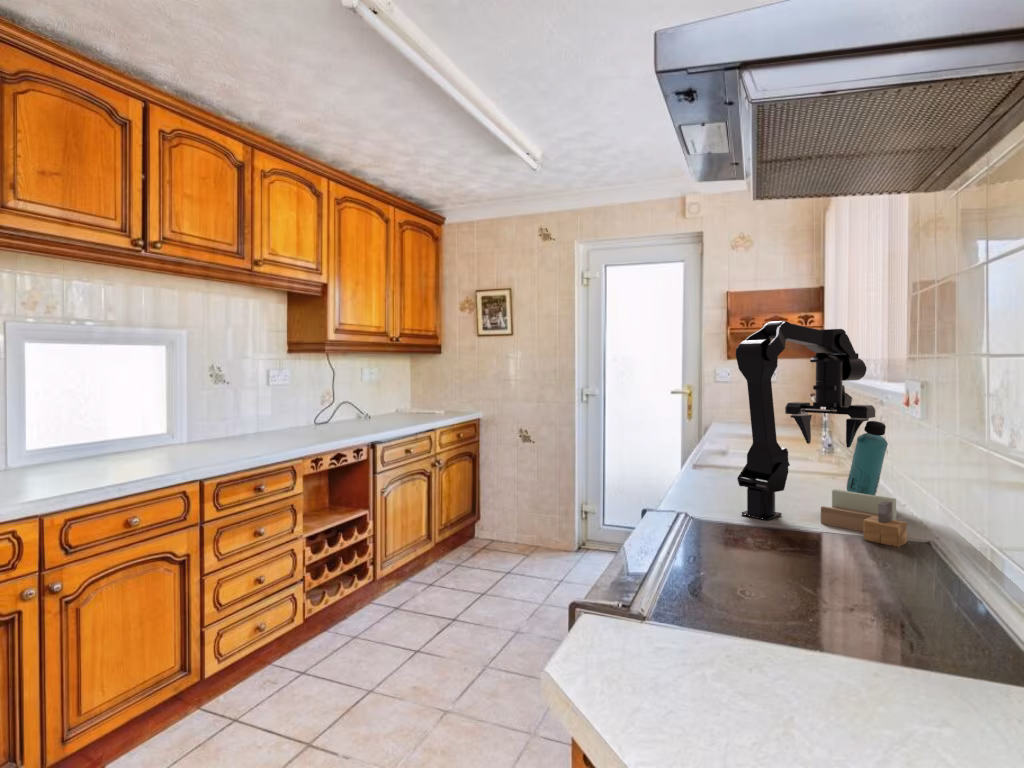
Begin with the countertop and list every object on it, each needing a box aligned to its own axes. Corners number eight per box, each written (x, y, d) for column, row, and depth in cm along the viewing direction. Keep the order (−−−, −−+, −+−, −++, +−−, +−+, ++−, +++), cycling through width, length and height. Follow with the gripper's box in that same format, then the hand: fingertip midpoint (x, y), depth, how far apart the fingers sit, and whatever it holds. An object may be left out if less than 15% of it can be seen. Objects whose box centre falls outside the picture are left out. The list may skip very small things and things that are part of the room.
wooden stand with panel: (880, 535, 116) (880, 505, 116) (818, 522, 126) (818, 494, 126) (895, 527, 121) (896, 498, 121) (835, 516, 131) (835, 489, 131)
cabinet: (898, 547, 109) (898, 507, 109) (863, 540, 114) (863, 502, 113) (906, 543, 112) (906, 503, 111) (872, 536, 116) (872, 498, 116)
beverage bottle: (880, 501, 141) (900, 426, 134) (860, 507, 139) (879, 431, 132) (856, 487, 147) (874, 415, 139) (837, 493, 145) (853, 420, 137)
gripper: (884, 381, 140) (883, 446, 140) (804, 379, 154) (804, 439, 155) (866, 382, 133) (865, 450, 133) (784, 380, 147) (783, 442, 148)
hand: (828, 445), depth 142 cm, fingers open, 9 cm apart
